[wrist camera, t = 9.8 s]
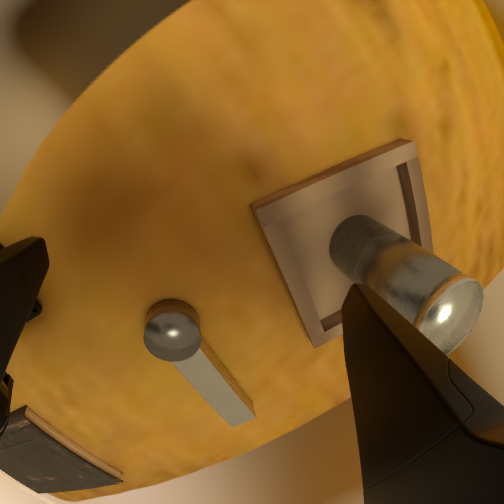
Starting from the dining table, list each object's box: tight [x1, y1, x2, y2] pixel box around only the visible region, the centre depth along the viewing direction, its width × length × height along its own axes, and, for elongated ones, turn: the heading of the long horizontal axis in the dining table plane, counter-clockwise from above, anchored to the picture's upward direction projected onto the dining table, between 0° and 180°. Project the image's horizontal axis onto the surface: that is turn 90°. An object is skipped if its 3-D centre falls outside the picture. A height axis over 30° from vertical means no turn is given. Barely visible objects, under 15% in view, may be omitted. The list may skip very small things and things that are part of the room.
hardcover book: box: [0, 405, 123, 494], centre depth 26 cm, size 16×23×2 cm
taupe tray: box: [250, 139, 433, 348], centre depth 22 cm, size 12×12×2 cm
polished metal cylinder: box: [329, 215, 483, 355], centre depth 17 cm, size 5×5×11 cm
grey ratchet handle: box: [144, 299, 256, 427], centre depth 23 cm, size 14×4×2 cm, turn 24°
